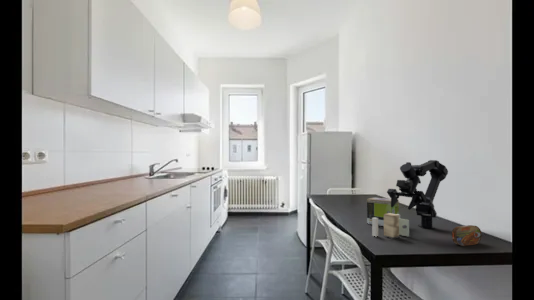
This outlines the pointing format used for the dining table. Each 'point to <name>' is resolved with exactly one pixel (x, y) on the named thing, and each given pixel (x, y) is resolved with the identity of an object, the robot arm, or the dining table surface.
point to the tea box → (380, 209)
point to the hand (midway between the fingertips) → (399, 208)
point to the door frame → (376, 226)
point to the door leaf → (403, 227)
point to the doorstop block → (391, 225)
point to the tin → (466, 235)
